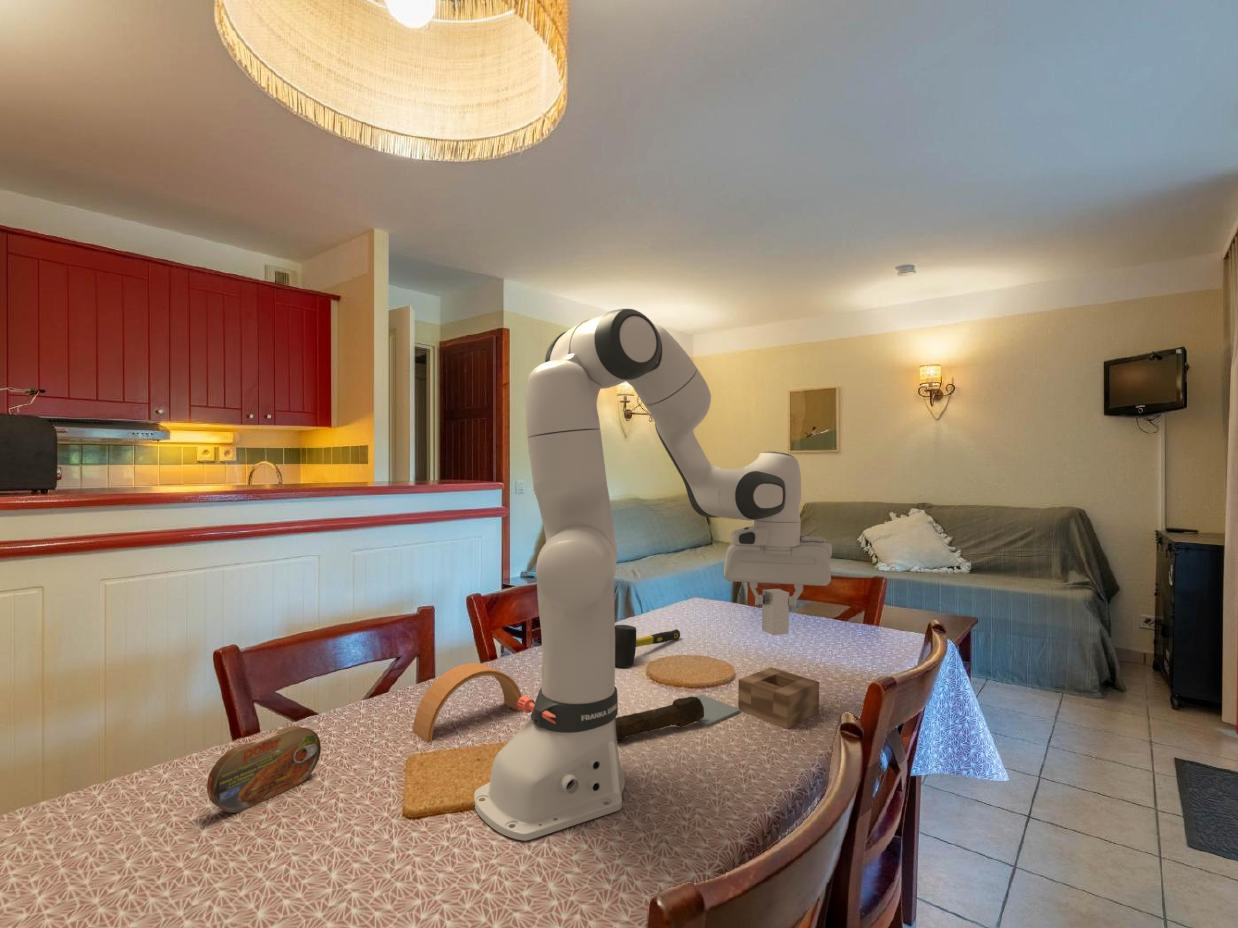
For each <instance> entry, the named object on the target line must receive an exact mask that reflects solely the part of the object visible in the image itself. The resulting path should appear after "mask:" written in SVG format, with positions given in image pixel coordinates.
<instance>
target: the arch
mask: <svg viewBox="0 0 1238 928" xmlns="http://www.w3.org/2000/svg"><path fill="white" fill-rule="evenodd" d="M486 676H491V677H494V678H495V679H496V681H497V682H498V683H499V685H500V688H501V690H502V695H503V704H504V705H506V706H509V707H510V708H511V709H514V710H515V711H518V712H521V711H522V710H521V709H519V708H518V706H519V705H517V704H518V703H519V702H518V701H519V700H520V697H522V696H523V694H522V692H521V690H520V688H519V686H518V684H517V683H516V682H515V681H514V679H512V677H511V676H510V675H508V674H506V673H505V672H502V671H500V670H497V669H495V668H493V667H491V666H489V665H486V664H483V663H479V662H470V663H463V664H460V665H457V666H456V667H453V668H451V669H449V670H447V671H446V672H445V673H443V674H442V675H440V676H439V677H438V678H437V679H436V680H435V681H434V682H433V683H432V684H431V685H430V687H429V688H428V689H427V690H426V692H425V694H423V696H422V698H421V700H420V703H419V705H418V707H417V709H416V711H415V715H414V720H413V726H412V733H413V734H415V735H416V736H418V738H421V739H422V740H424V741H425V742H426V743H429V742H432V741H433V734H434V733H433V732H434V727H435V725H436V721H437V718H438V715H440V712H441V709H442V708H443V706H444V705H445V703H446V702H447V701H448V699H449V698H450V697H451V695H453V693H455V691H457V690H458V689H459V688H460V687H462V686H463V685H464V684H465V683H467V682H470V681H471V680H473V679H476V678H479V677H486Z"/></svg>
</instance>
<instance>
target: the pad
mask: <svg viewBox="0 0 1238 928" xmlns="http://www.w3.org/2000/svg"><path fill="white" fill-rule="evenodd" d="M695 697H697V698H699V699H700V700H701V703H702V705H703V707H704V717H703V718H702V719H700V720H698V721H696V722H695V723H698V724H700V725H702V726H705V727H707V728H708V727H710V726H713V725H714V724H717V723H720V722H721V721H724V720H727V719H729V718H731V717H733V716H735V715H738V714H739V713H741V712H742V711H741V709H738V707H735V706H733V705H730V704H727V703H726V702H722V701H720V700H717V699H715V698H712V697H710V696H707V695H706V694H698V695H695Z"/></svg>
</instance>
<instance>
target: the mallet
mask: <svg viewBox="0 0 1238 928" xmlns="http://www.w3.org/2000/svg"><path fill="white" fill-rule="evenodd" d="M680 637H681V632H680V630H679V629H677V628H676V629H674V630H670V631H669V630H668V631H664V632H663V631H662V632H658V633H657V632H656V633H654V634H651V635H647V636H642V637H640V638H638V637H637V628H636V626H633V625H629V624H615V667H621V668H629V667H630V668H631V667H633V666H634V661H635V657H636V649H637V648H638V647H642V646H649V645H656V644H662V643H667V642H670V641H678V640H679V639H680Z"/></svg>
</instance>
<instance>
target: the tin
mask: <svg viewBox="0 0 1238 928" xmlns="http://www.w3.org/2000/svg"><path fill="white" fill-rule="evenodd" d="M321 745H322V744H321V741H320V738H319V735H318V733H316V731H314V730H312V729H311V728H309V727H302V726H297V725H296V726H295V725H294V726H293V725H292V726H287V727H284V728H282V729H279V730H276V731H274V732H271V733H269V734H266V735H264V736H262V737H259V738H255V739H254V740H250V741H248V742H245V743H243V744H240V745H238V746H236V747H233V748H231V749H229V750H228V751H226V752H225V753H224V754H223V755H221V756H220V757H219V759H218V760H217V761H216V762H214V765H213V766H212V767H211V770H210V772H209V775H208V777H207V784H206V792H207V796H208V798H209V800H210V802H211V803H212V804H214V805H215V806H216V807H218V808H219V809H220V810H222V811H223V812H226V813H234V814H235V813H240V812H244V811H247V810H249V809H251V808H252V806H253V807H254V805H255V806H257V805H259V804H261V803H263V802H265V801H268V800H269V798H270V799H271V798H274V797H276V796H278V795H280V794H282V793H284V792H286V791H289V790H291V789H293V788H295V787H296V786H298V785H301V784H302V783H304V781H305V780H307V779H308V778H309V777H310V775H311V774H312V773H313V772H314V770H315V769H316V767H317V765H318V762H319V759H320V756H321V751H322V750H321V749H322V746H321ZM258 803H259V804H258ZM256 804H257V805H256ZM248 808H249V809H248Z"/></svg>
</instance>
